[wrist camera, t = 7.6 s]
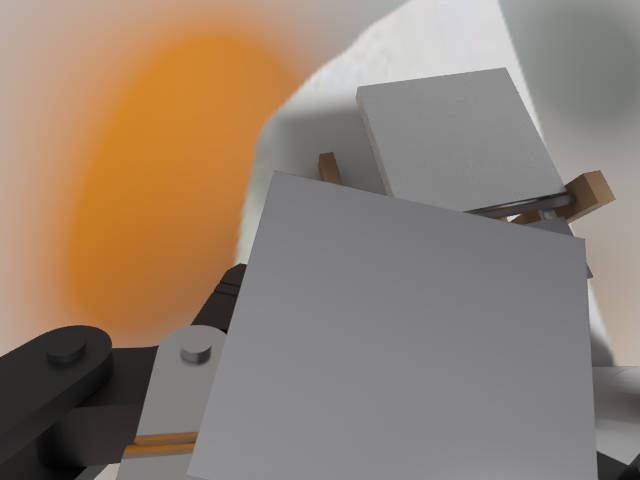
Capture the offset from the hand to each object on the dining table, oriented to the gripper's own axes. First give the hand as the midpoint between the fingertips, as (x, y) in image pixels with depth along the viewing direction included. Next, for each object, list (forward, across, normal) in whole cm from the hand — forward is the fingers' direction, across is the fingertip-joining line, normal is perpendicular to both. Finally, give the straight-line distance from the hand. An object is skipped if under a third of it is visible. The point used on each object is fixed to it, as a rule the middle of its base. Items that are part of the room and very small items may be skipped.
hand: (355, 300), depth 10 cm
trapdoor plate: (+16, -7, 0) cm, 18 cm away
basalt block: (+2, 0, +4) cm, 5 cm away
